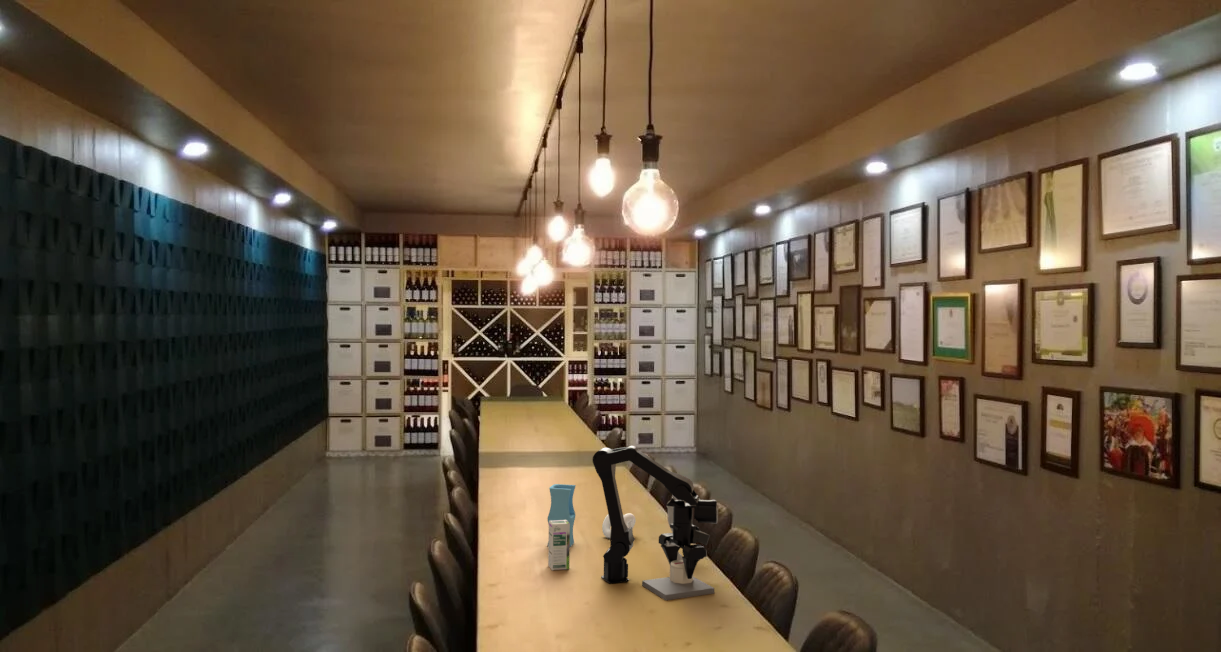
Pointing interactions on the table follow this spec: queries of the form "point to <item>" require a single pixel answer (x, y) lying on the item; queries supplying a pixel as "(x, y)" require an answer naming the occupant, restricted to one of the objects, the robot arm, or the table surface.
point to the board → (677, 588)
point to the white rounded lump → (628, 520)
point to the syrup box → (559, 544)
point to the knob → (678, 572)
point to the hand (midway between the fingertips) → (681, 574)
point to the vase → (562, 505)
